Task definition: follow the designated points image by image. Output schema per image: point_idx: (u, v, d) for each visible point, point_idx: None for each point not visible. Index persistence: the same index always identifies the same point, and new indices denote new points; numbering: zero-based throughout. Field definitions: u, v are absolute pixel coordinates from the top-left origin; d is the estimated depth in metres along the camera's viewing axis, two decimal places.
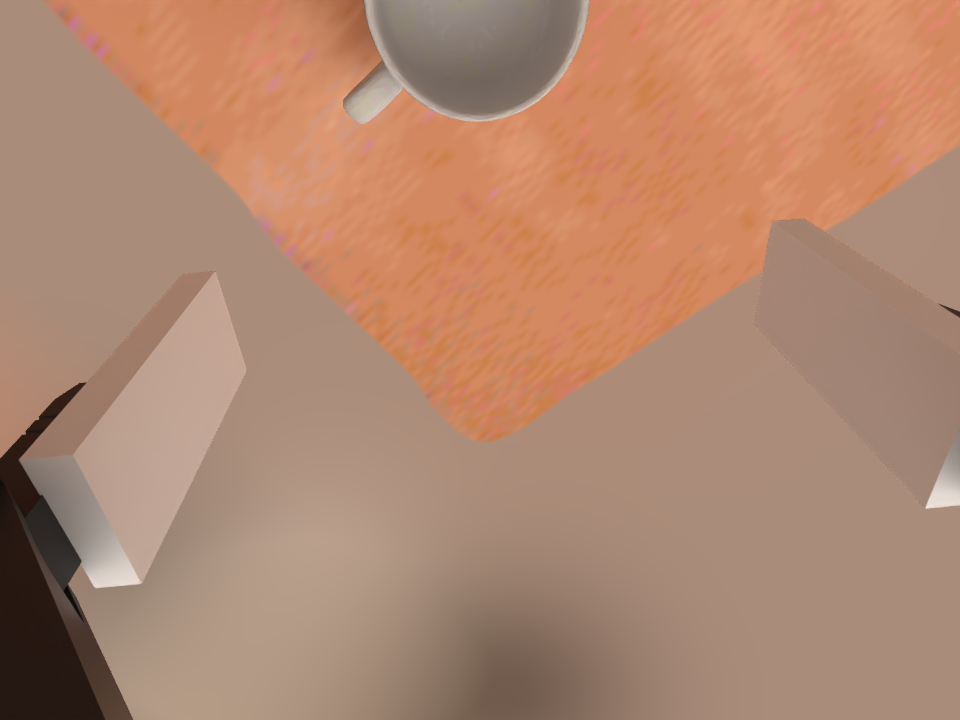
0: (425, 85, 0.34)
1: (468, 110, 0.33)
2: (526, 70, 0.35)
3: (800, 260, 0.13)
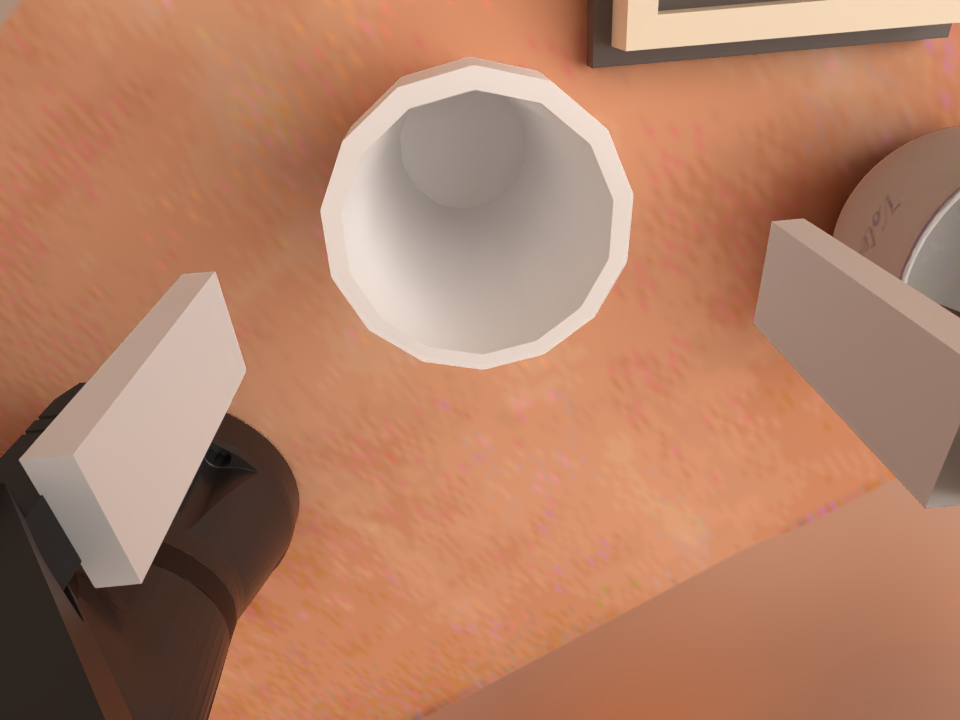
0: None
1: None
2: None
3: (800, 260, 0.13)
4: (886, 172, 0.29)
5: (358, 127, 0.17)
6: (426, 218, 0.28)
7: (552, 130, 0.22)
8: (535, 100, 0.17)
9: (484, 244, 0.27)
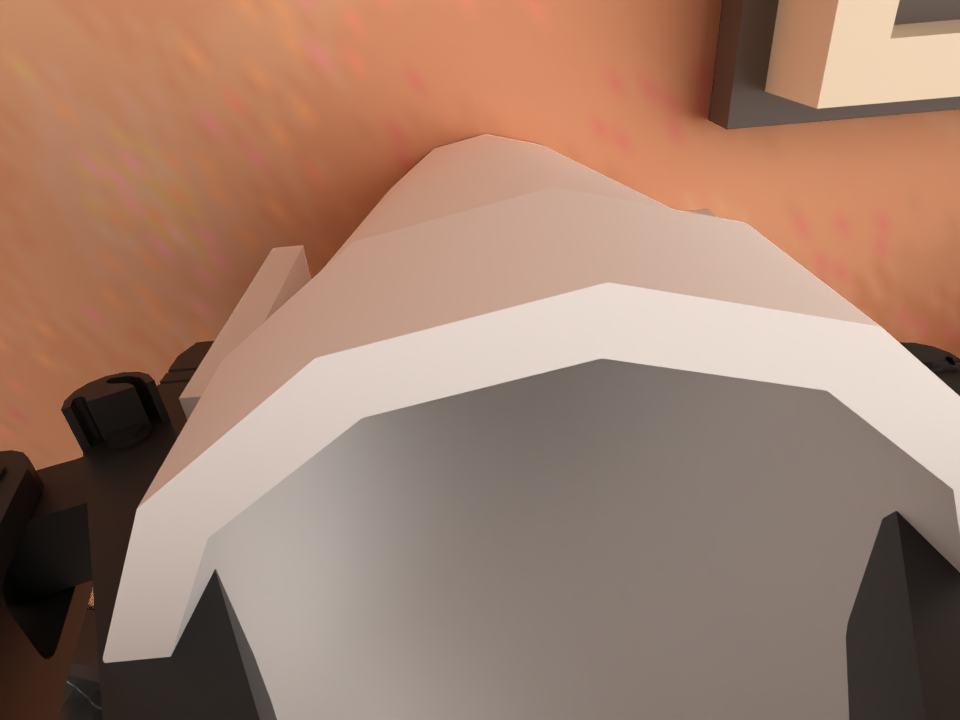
0: None
1: None
2: None
3: None
4: None
5: (186, 473, 0.05)
6: None
7: None
8: (810, 383, 0.05)
9: (531, 447, 0.15)
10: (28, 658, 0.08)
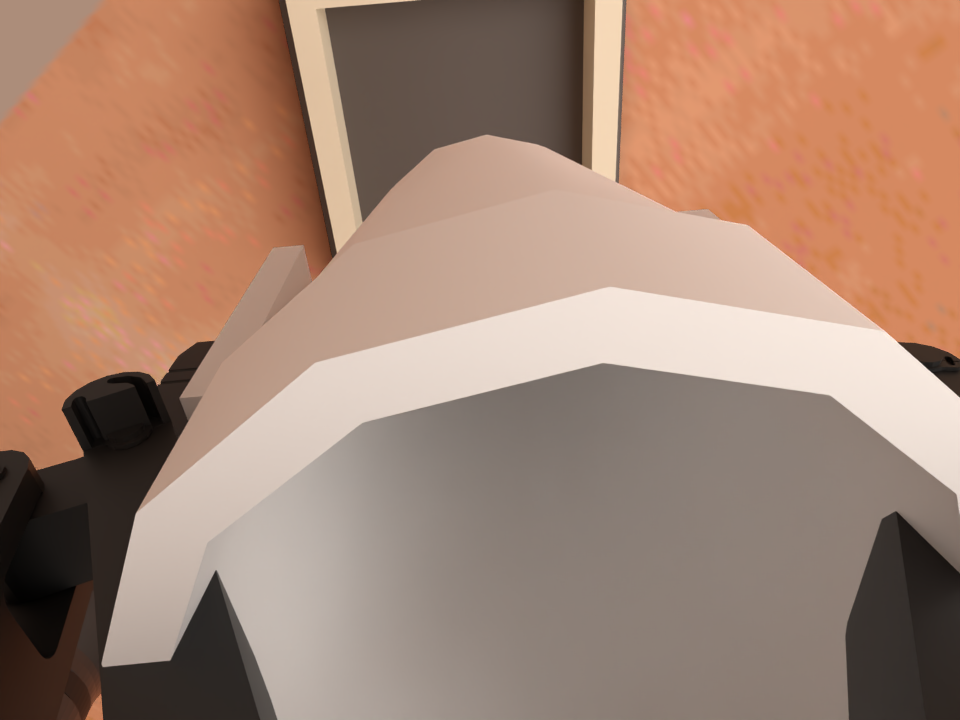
0: None
1: None
2: None
3: None
4: None
5: (185, 478, 0.05)
6: None
7: None
8: (813, 388, 0.05)
9: (532, 449, 0.15)
10: (29, 658, 0.08)
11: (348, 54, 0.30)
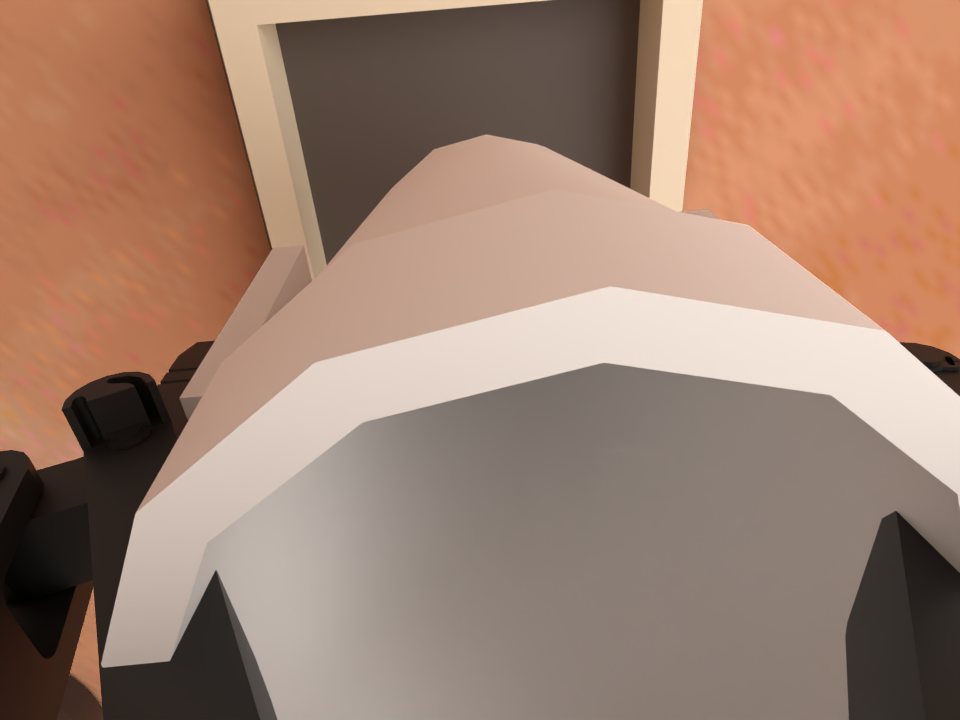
0: None
1: None
2: None
3: None
4: None
5: (185, 478, 0.05)
6: None
7: None
8: (813, 387, 0.05)
9: (532, 449, 0.15)
10: (29, 658, 0.08)
11: (310, 86, 0.21)
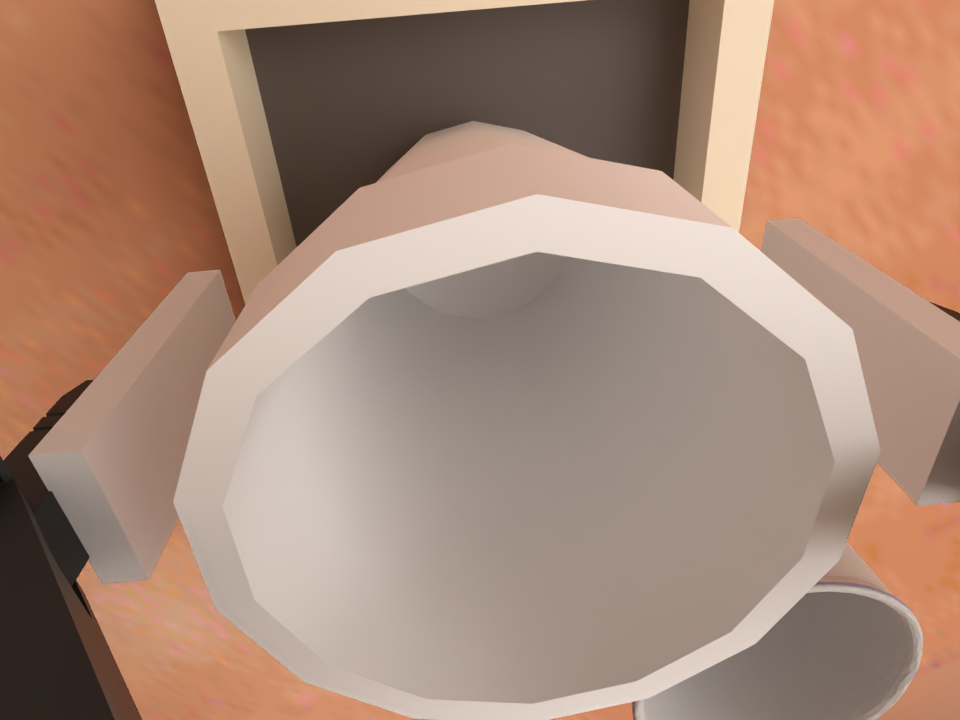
0: (818, 653, 0.27)
1: (889, 671, 0.24)
2: None
3: (794, 260, 0.13)
4: None
5: (243, 341, 0.07)
6: (422, 349, 0.18)
7: None
8: (687, 272, 0.07)
9: (515, 398, 0.17)
10: None
11: (289, 103, 0.18)
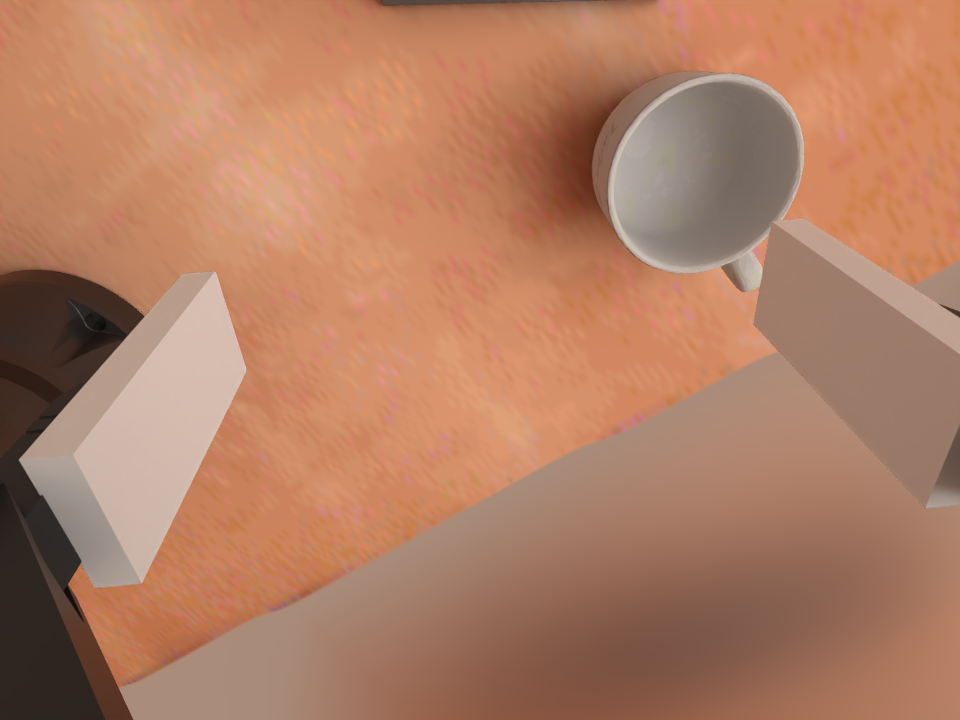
0: (741, 215, 0.38)
1: (784, 190, 0.35)
2: (749, 111, 0.36)
3: (800, 260, 0.13)
4: (620, 105, 0.36)
5: None
6: None
7: None
8: None
9: None
10: None
11: None
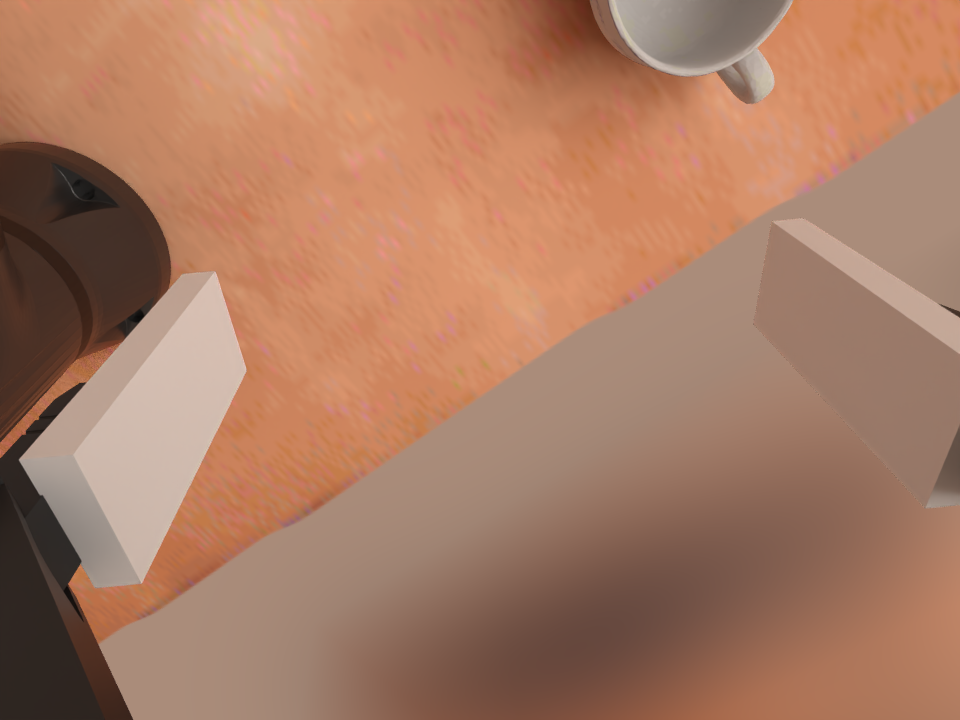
0: (745, 21, 0.37)
1: None
2: None
3: (800, 260, 0.13)
4: None
5: None
6: None
7: None
8: None
9: None
10: None
11: None
